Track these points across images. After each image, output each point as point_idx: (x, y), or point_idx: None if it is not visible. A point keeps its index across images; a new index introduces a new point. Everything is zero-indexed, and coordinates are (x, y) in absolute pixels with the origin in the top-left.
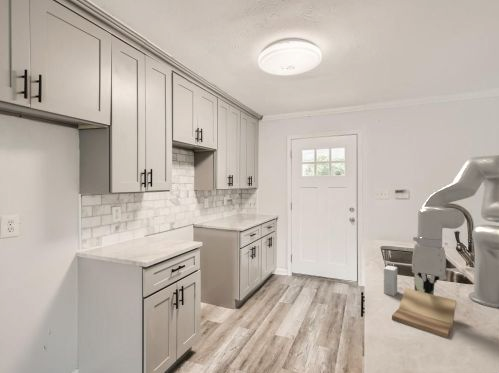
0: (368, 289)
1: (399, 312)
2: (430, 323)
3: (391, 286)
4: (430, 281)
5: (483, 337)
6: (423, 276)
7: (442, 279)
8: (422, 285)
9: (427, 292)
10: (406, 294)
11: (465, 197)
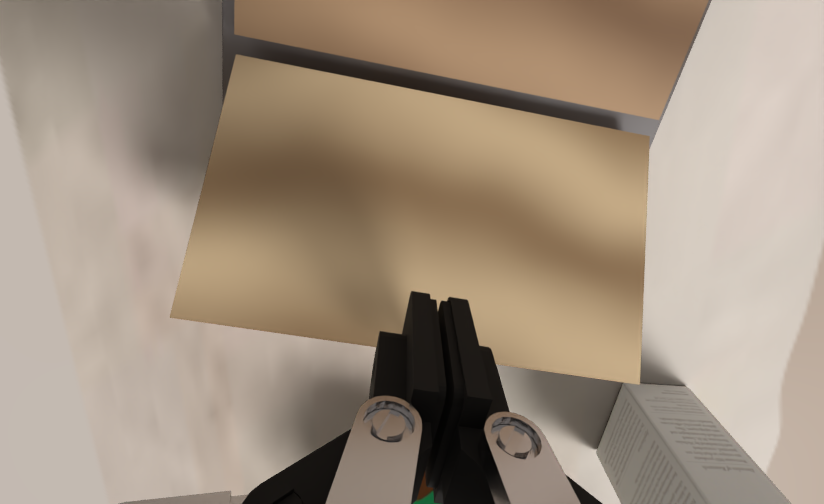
0: (777, 430)
1: (664, 20)
2: None
3: (691, 450)
4: (408, 423)
5: (68, 87)
6: (544, 496)
7: (176, 498)
8: None
9: (426, 486)
10: (617, 300)
11: None
